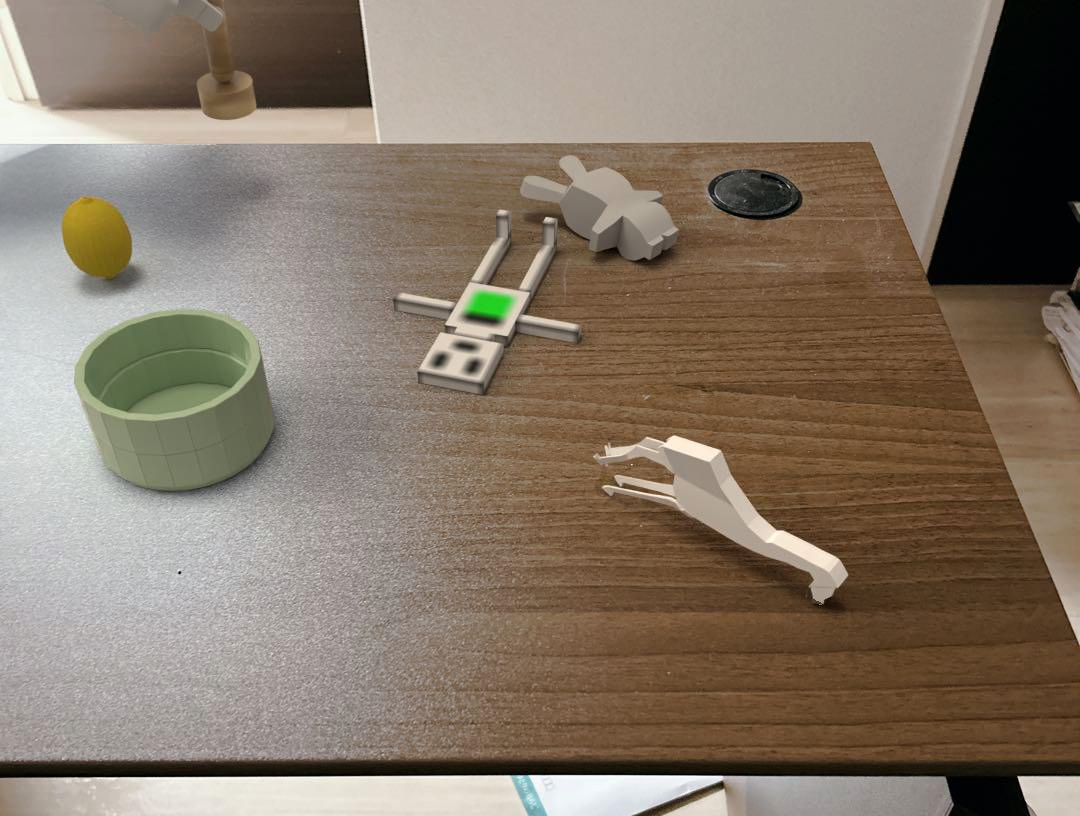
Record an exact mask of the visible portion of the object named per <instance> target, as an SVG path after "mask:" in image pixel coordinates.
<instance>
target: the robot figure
mask: <svg viewBox="0 0 1080 816" xmlns="http://www.w3.org/2000/svg"><path fill="white" fill-rule="evenodd" d="M541 227H542V231H541V232H542V233H541V246H540V248H539V250H538V251H537V254H536V255H535V257H534V259H533V261H532V263H531V265H530V267H529V269H528V270H527V273H526V274H525V276H524V278H523V280H522V282H521V284H520V286H519V288H518V289H511V288H505V287H500V286H495V285H489V283H490V282H491V280H492V278H493V276H494V275H495V273H496V271H497V269H498V267H499V266H500V264H501V262H502V260H503V259H504V257H505V255H506V253H507V252H508V250H509V249H510V247H511V245H512V211H511V210H505V209H498V211H497V212H496V215H495V235H496V236H495V239H494V240H493V242H492V244H491V245H490V247H489V249H488V251H486V254H485V256H484V257H483V259H482V261H481V262H480V264H479V266H478V268H477V269H476V271H475V272H474V274H473V275H472V278H471V279H470V281H469V283H468V285H467V286H466V288H465V290H464V291H463V293H462V295H461V297H460V298H459V299H458V301H457V302H454V301H448V300H444V299H443V300H442V299H438V298H432V297H426V296H422V295H421V296H420V295H417V294H416V295H415V294H409V293H404V292H398V291H397V292H396V294H395V296H394V297H393V298H392V303H393V310H394V311H397V312H403V313H409V314H414V315H420V316H425V317H431V318H436V319H441V320H446V322H445V324H444V330H445V331H444V332H439V334H438V336H437V337H436V339H435V341H434V342H433V344H432V346H431V348H430V349H429V350H428V352H427V354H426V356H425V358H424V359H423V361H422V362H421V365H420V366H419V368H418V369H417V382H418V384H425V385H428V386H429V385H430V386H435V387H439V388H445V389H449V390H455V391H460V392H466V393H470V394H471V393H472V394H476V395H481V396H483V395H484V394H485V392H486V390H487V388H488V386H489V384H490V383H491V380H492V379H493V376H494V375H495V373H496V371H497V369H498V367H499V365H500V363H501V361H502V359H503V357H504V355H505V352H504V350H505V349H504V347H505V348H508V347H509V345H510V343H511V341H512V340H513V337H514V335H515V334H516V333H519V334H524V335H529V336H535V337H541V338H546V339H552V340H555V341H556V340H557V341H561V342H568V343H574V344H579V341H580V339H581V337H582V326H583V325H582V324H577V323H571V322H567V321H561V320H555V319H550V318H544V317H539V316H533V315H526V312H527V310H528V308H529V306H530V304H531V302H532V300H533V298H534V296H535V295H536V292H537V290H538V289H539V286H540V284H541V282H542V280H543V278H544V277H545V274H546V273H547V270H548V269H549V266H550V265H551V263H552V261H553V259H554V257H555V256H556V253H557V251H558V218H554V217H549V216H545V217H544V220H543V221H542V225H541Z"/></svg>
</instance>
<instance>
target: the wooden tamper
mask: <svg viewBox="0 0 1080 816" xmlns="http://www.w3.org/2000/svg"><path fill="white" fill-rule="evenodd" d="M211 1H213V2H214V3H215V4H216V5H217V6H219V7H220V8H221V9H222V11H223V22H222V23H221V24H220V26H219V27H218V28H217V30H216V31H213V32H211V31H209V30H207V29H206V28H205V27H203V26H202V25H201V24H200V25H201V30H202V36H203V41H204V46H205V51H206V56H207V61H208V68H209V72H208V73H205V74H204V75H202V76H200V77H199V78H198V80H197V81H196V88H197V93H198V98H199V102H200V107H201V111H202V113H203V114H204V115H205V116H206V117H208V118H210V119H213V120H219V121H233V120H238V119H242V118H245V117H247V116H248V117H249V116H250V115H252V114H253V113H254V112H255V111H256V109H257V106H258V105H257V100H256V93H255V85H254V80H253V78H252V76H251V75H250V74H248V73H247V72H244V71H241V70H236V67H235V61H234V57H233V50H232V44H231V39H230V33H229V27H228V23H227V16H226V11H225V5H224V4H223V0H211Z"/></svg>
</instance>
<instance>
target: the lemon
mask: <svg viewBox="0 0 1080 816" xmlns="http://www.w3.org/2000/svg"><path fill="white" fill-rule="evenodd" d="M124 218H125V217H124V216H123V215H122V214H121V212H120V211H119V210H118V208H117V207H116V206H114V204H113V203H111V202H109V201H107V200H105V199H103V198H99V197H96V196H89V195H82V196H81V197H80V198H79V199H77V200H75V201H73V202H72V203H70V205H69V206H68V207H67V208H66V210H65V211H64V213H63V216H62V220H61V235H62V241H63V244H64V248H65V251H66V253H67V255H68V257H69V258H70V259H69V260H71V262H72V263H73V264H74V265H75V267H77V269H79V271H81V272H82V273H85V274H86V275H89V276H90V277H94V278H100V279H105V280H108V281H109V280H112V279H113V278H114V277H115V276H117V275H118V274H120V273H122V272H123V271H124V270H125V269H126V268H127V266H128V265H129V263H130V261H131V258H132V255H133V240H132V234H131V231H130V229H129V226H128V224H127V222H126V220H125V219H124Z"/></svg>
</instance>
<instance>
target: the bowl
mask: <svg viewBox="0 0 1080 816" xmlns="http://www.w3.org/2000/svg"><path fill="white" fill-rule="evenodd" d="M73 379H74V381H73V385H74V387H75V390H76V393H77V395H78V398H79V401H80V403H81V406H82V409H83V412H84V414H85V415H84V416H85V417H86V420H87V423H88V425H89V428H90V430H91V434H92V436H93V439H94V441H95V445H96V448H97V450H98V452H99V454H100V456H101V458H102V460H103V462H104V464H105V465H106V467H107V468H108V469H110V470H111V471H113V472H114V473H115V474H117V475H118V476H119V477H121V478H122V479H124V480H125V481H127V482H129V483H131V484H133V485H135V486H138V487H141V488H145V489H150V490H155V491H163V492H180V491H188V490H194V489H195V490H196V489H201V488H205V487H209V486H212V485H214V484H218V483H220V482H221V483H222V481H225V480H227V479H230V478H232V477H233V476H236V475H237V474H239V473H240V472H242V471H243V470H245V469H246V468H247V467H249V466H250V465H251V464H252V463H253V462H255V461H256V460H257V459H258V458H259V456H260V455H261V454H262V452H263V451H264V449H265V448H266V447H267V445H268V443H269V442H270V438H271V436H272V434H273V431H274V427H275V416H274V409H273V408H274V407H273V404H272V398H271V393H270V388H269V384H268V380H267V374H266V370H265V364H264V361H263V355H262V350H261V346H260V342H259V340H258V338H257V337H256V336H255V334H254V333H253V332H252V330H251V329H250V328H249V326H247V325H245V324H244V323H242V322H241V321H239V320H238V319H235V318H234V317H232V316H231V315H227V314H223V313H219V312H215V311H211V310H207V309H195V308H194V309H192V308H191V309H190V308H176V309H169V310H160V311H154V312H150V313H146V314H142V315H140V316H136V317H133V318H130V319H127V320H124V321H122V322H121V323H118V324H117V325H115V326H113V327H111V328H109V329H107V330H105V331H103V332H102V333H101V334H99V335H98V336H97V337H96V338H95V339H94V340H93V341H92V342H91V343H90V344H88V345H87V346H86V347H85V348H84V350H83V352H82V353H81V355H80V356H79V359H78V360H77V362H76V363H75V365H74V378H73Z"/></svg>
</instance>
